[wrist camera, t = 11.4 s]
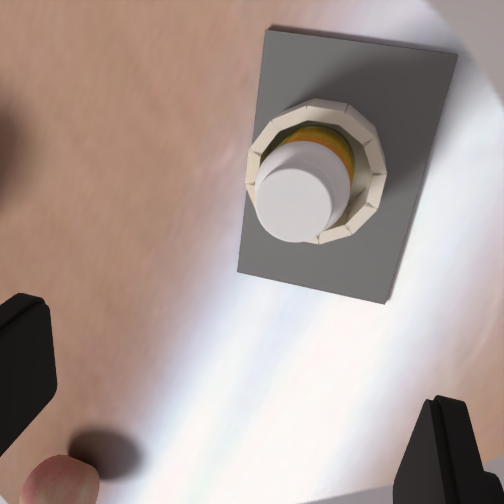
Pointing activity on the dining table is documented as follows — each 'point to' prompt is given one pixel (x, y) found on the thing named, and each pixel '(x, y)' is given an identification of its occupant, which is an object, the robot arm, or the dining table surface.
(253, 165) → the cream hollow ring
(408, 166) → the placemat
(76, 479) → the apple
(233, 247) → the dining table surface
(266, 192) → the supplement bottle
